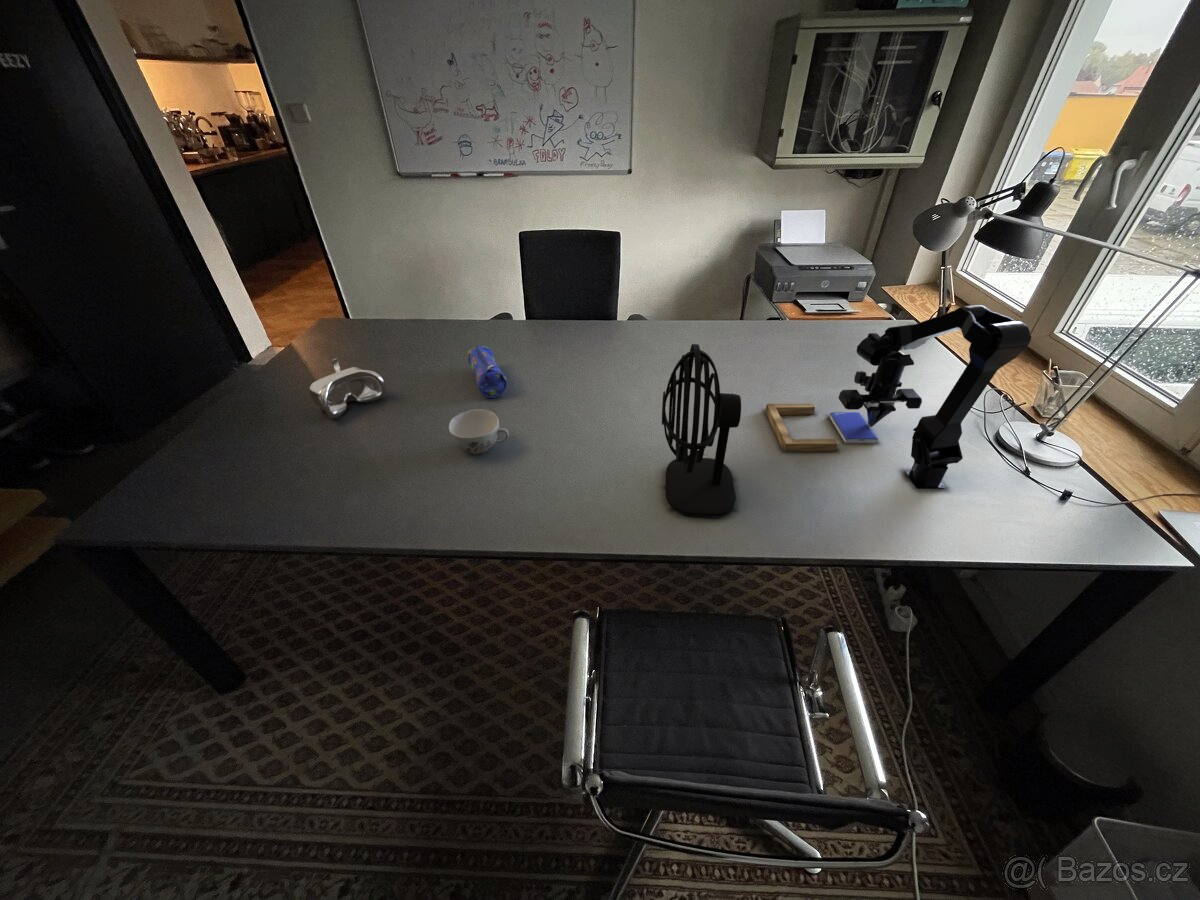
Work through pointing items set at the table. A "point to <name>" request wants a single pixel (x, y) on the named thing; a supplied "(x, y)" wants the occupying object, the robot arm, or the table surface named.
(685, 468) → the desk fan
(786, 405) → the dock
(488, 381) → the pencil case
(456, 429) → the teacup
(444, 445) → the table surface
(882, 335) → the robot arm
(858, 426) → the hard drive
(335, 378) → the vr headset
